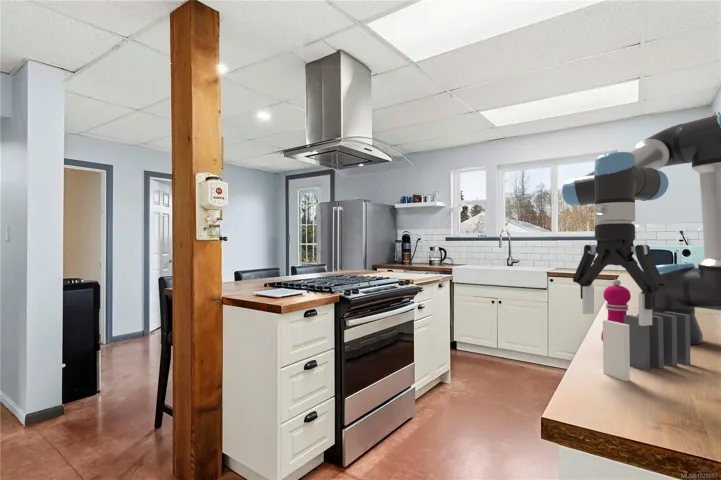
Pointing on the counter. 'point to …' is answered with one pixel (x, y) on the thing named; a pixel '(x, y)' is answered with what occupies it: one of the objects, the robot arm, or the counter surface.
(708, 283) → the robot arm
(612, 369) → the white domino
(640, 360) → the domino
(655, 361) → the domino
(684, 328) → the domino
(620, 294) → the pepper mill
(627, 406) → the counter surface
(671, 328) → the domino
